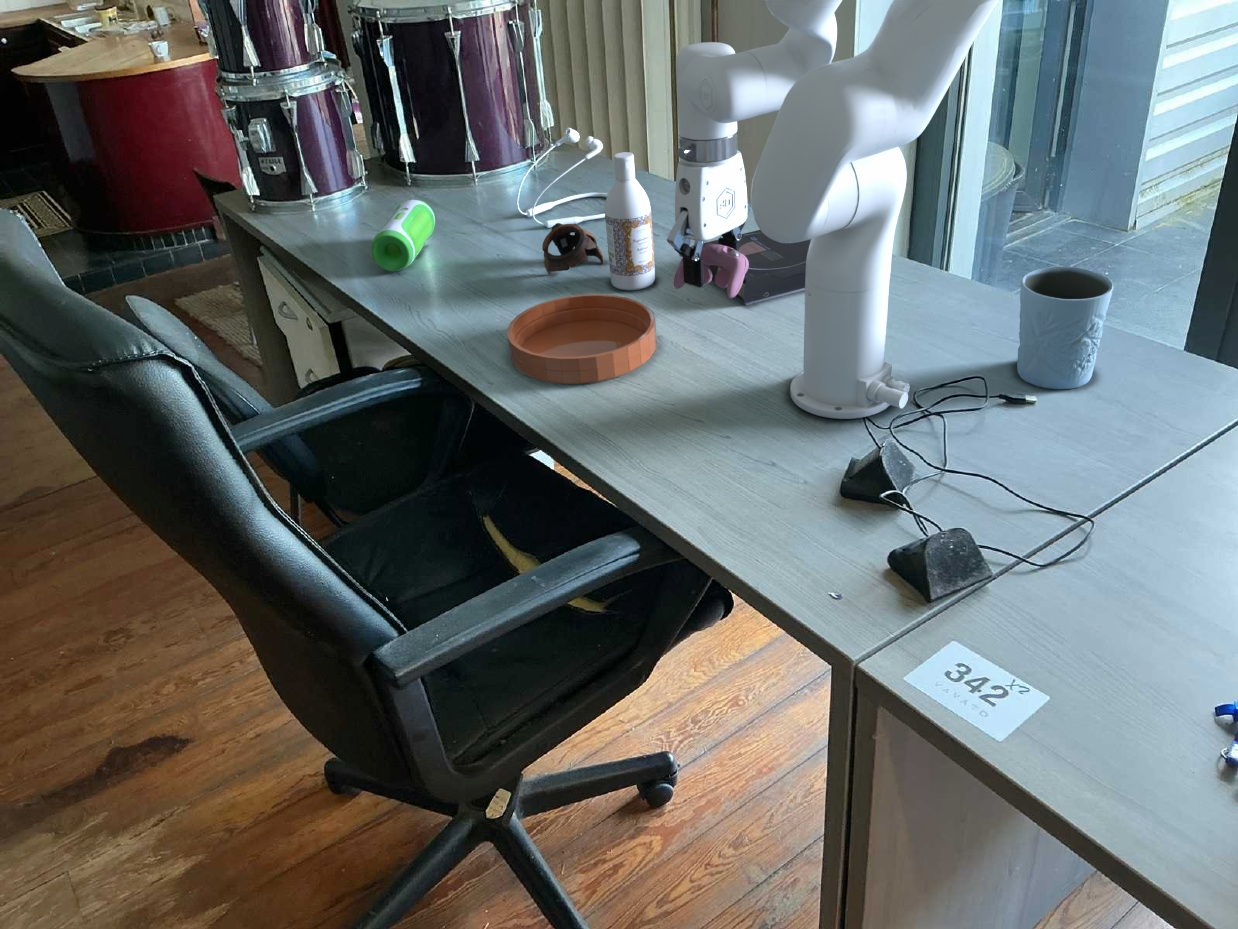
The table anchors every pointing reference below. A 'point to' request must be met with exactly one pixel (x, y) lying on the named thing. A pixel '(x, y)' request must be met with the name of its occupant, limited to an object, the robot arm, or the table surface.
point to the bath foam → (629, 229)
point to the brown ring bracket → (569, 247)
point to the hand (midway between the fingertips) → (711, 274)
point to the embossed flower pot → (1061, 325)
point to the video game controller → (723, 257)
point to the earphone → (572, 137)
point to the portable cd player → (769, 267)
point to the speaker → (403, 235)
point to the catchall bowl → (582, 338)
